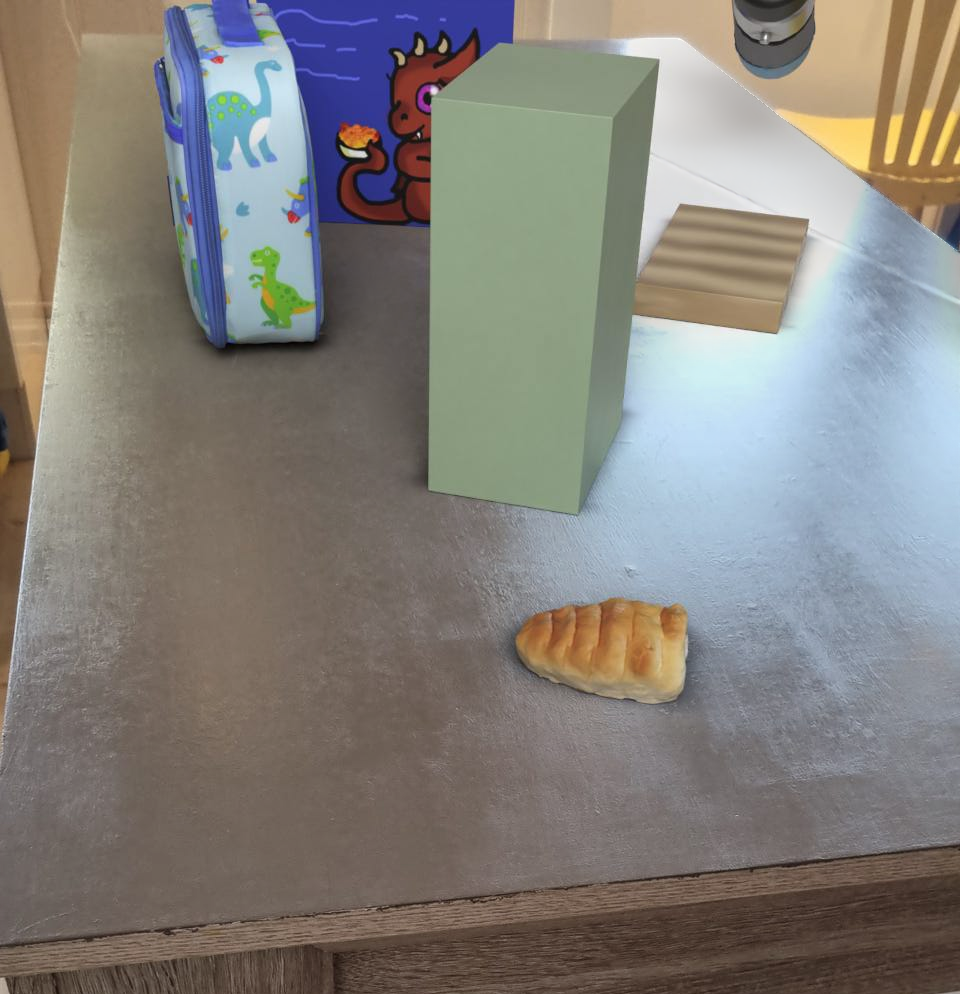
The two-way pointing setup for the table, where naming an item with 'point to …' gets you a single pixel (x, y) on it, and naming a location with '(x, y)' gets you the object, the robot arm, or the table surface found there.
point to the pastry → (610, 648)
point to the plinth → (534, 269)
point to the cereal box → (381, 93)
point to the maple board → (722, 268)
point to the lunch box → (240, 174)
